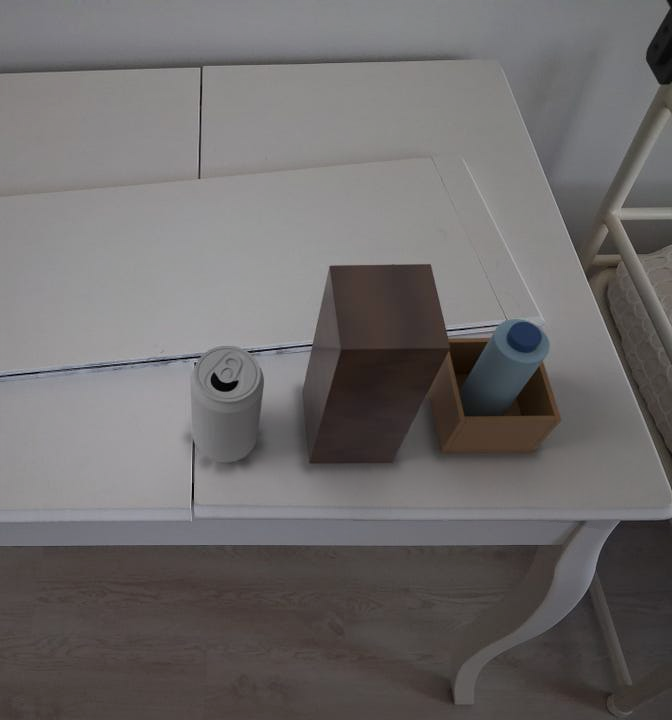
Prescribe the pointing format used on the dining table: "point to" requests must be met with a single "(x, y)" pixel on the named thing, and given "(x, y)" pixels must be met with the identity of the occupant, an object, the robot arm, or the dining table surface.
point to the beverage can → (226, 403)
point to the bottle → (503, 368)
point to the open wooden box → (489, 433)
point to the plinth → (371, 361)
